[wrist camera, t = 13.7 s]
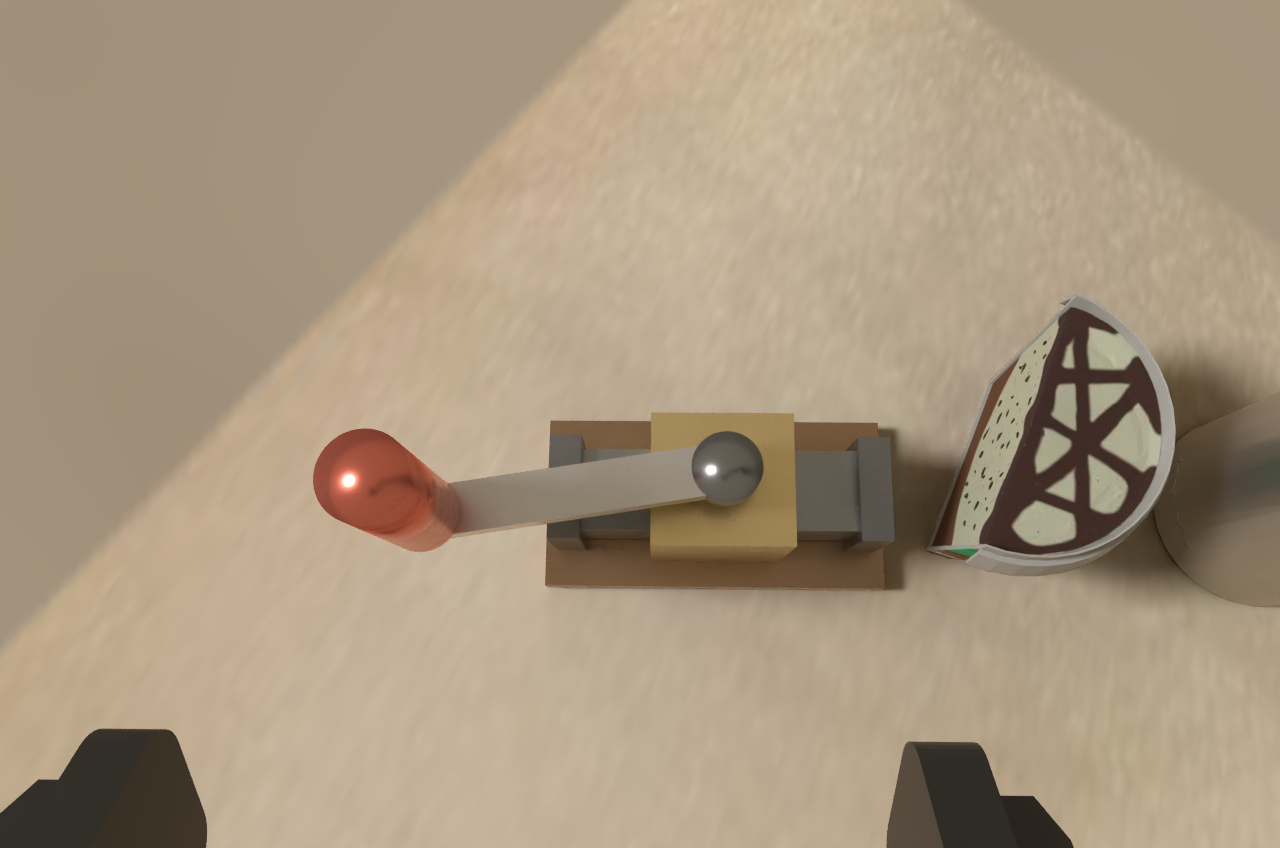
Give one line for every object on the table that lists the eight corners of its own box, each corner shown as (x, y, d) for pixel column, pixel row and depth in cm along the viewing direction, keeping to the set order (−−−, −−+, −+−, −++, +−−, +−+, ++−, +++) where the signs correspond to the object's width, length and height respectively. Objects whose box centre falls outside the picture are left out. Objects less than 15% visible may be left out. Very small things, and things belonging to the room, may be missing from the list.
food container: (1036, 631, 47) (1136, 625, 37) (914, 579, 48) (981, 558, 38) (1116, 402, 49) (1228, 339, 40) (999, 355, 50) (1081, 282, 40)
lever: (753, 430, 40) (780, 365, 31) (766, 503, 39) (798, 458, 30) (387, 485, 40) (309, 436, 31) (394, 560, 39) (317, 530, 30)
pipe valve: (872, 428, 49) (918, 379, 41) (879, 590, 47) (929, 575, 39) (553, 426, 50) (530, 376, 41) (547, 586, 48) (523, 571, 39)
